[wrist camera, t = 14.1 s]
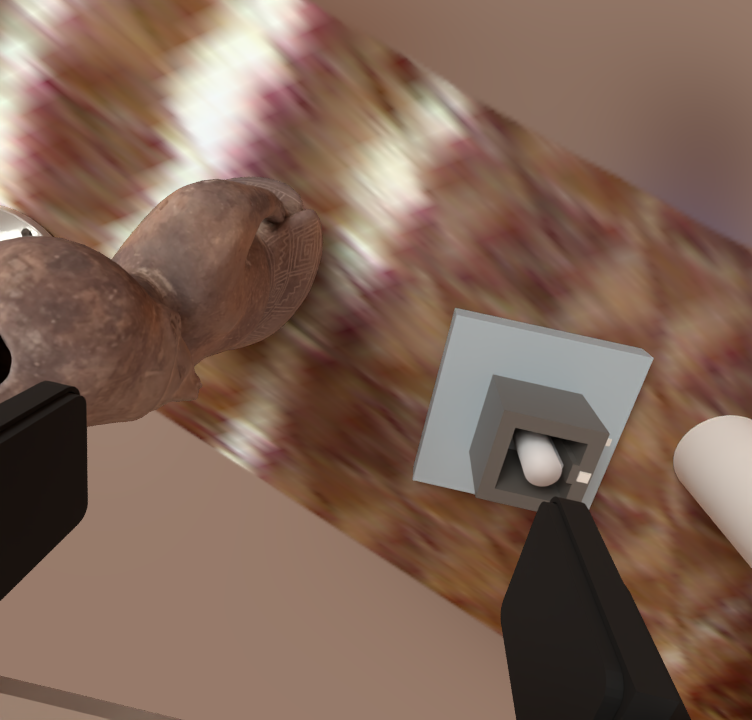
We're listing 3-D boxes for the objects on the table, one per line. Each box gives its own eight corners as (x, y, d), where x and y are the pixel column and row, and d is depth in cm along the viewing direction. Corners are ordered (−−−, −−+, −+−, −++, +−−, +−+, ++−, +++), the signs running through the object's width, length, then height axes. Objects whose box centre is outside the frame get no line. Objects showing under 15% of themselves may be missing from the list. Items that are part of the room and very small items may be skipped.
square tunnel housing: (492, 374, 37) (504, 410, 31) (582, 394, 36) (610, 434, 31) (468, 451, 39) (475, 498, 33) (552, 470, 39) (574, 521, 33)
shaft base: (413, 466, 42) (409, 533, 34) (455, 307, 37) (462, 343, 29) (577, 504, 42) (612, 580, 34) (642, 348, 37) (700, 396, 29)
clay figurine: (265, 355, 40) (34, 604, 17) (161, 274, 39) (-251, 424, 15) (366, 226, 36) (247, 318, 12) (254, 130, 34) (-120, 31, 11)
